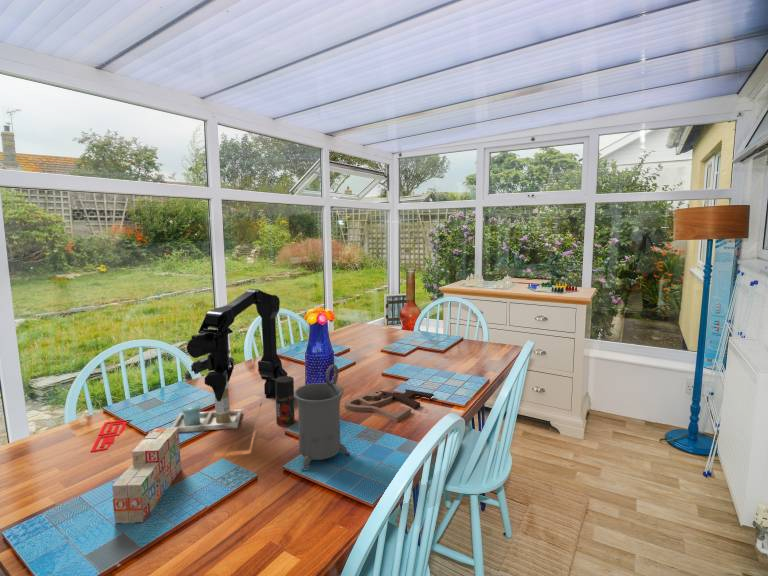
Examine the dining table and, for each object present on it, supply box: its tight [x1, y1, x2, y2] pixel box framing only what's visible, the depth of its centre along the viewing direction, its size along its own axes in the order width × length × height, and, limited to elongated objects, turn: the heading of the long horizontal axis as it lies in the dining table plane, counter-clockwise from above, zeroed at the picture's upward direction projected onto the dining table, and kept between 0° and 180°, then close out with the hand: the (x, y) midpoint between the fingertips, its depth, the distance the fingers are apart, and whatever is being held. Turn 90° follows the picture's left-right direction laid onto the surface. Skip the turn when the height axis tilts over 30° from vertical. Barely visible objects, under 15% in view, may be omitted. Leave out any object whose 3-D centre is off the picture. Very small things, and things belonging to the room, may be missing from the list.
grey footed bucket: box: [294, 364, 351, 471], centre depth 121 cm, size 19×15×25 cm
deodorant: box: [275, 375, 296, 427], centre depth 142 cm, size 6×6×15 cm
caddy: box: [170, 408, 243, 433], centre depth 141 cm, size 20×11×2 cm, turn 101°
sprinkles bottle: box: [214, 381, 231, 423], centre depth 141 cm, size 5×5×13 cm
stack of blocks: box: [111, 427, 182, 524], centre depth 104 cm, size 21×6×12 cm, turn 4°
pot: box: [181, 403, 201, 426], centre depth 139 cm, size 5×5×6 cm
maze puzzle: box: [90, 419, 128, 453], centre depth 137 cm, size 20×20×1 cm
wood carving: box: [342, 389, 435, 423], centre depth 160 cm, size 28×2×24 cm
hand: (221, 395), depth 140 cm, fingers open, 9 cm apart
